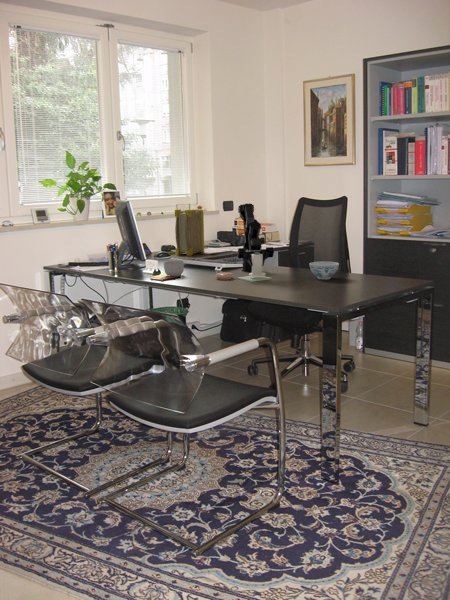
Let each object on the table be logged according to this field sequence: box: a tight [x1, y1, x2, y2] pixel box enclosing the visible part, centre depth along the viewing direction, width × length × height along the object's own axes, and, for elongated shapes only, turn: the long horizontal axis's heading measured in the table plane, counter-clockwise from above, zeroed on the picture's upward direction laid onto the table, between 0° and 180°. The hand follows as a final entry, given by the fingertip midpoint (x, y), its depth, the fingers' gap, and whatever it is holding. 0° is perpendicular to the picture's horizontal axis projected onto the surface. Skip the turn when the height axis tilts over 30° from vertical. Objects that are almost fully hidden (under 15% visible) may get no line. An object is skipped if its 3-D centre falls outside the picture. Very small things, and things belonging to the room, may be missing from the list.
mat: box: [237, 275, 273, 283], centre depth 358 cm, size 13×13×1 cm
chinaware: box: [309, 261, 340, 280], centre depth 354 cm, size 15×15×8 cm
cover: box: [248, 252, 267, 277], centre depth 355 cm, size 9×9×12 cm
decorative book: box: [174, 208, 205, 257], centre depth 459 cm, size 20×11×30 cm, turn 145°
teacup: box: [163, 259, 185, 277], centre depth 374 cm, size 14×11×8 cm
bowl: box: [215, 272, 234, 281], centre depth 360 cm, size 9×9×2 cm
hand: (257, 265), depth 354 cm, fingers closed on cover, 6 cm apart
